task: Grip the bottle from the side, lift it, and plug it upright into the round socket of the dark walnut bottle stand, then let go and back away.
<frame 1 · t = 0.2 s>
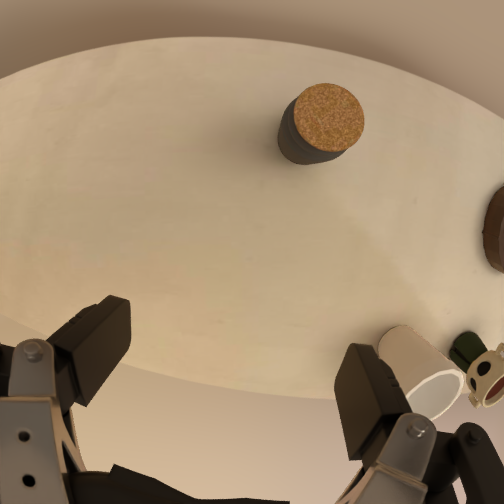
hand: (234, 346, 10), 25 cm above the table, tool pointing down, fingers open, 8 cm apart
bottle: (302, 140, 31), on the table
foam cup: (396, 342, 37), on the table
character mug: (461, 344, 37), on the table
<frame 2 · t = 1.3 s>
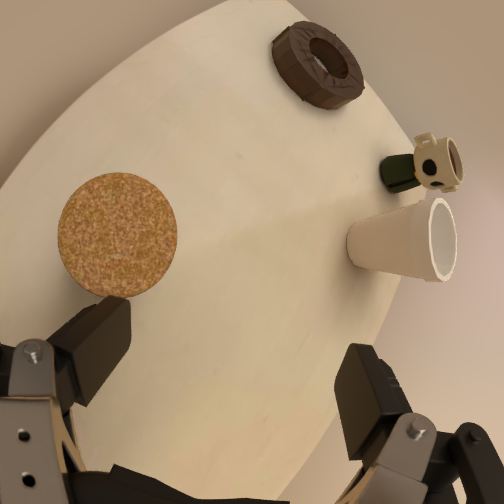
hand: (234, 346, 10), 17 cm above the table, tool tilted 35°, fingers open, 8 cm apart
bottle: (110, 250, 23), on the table, touching gripper
stand: (312, 69, 35), on the table
foam cup: (360, 244, 38), on the table
character mug: (388, 175, 43), on the table
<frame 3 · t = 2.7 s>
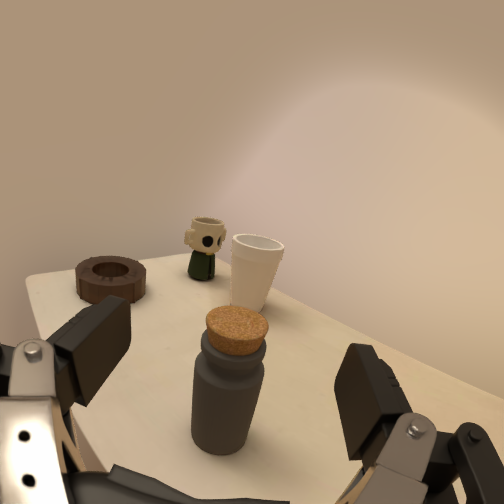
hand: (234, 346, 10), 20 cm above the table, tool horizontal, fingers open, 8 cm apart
bottle: (218, 435, 26), on the table
stand: (110, 288, 50), on the table
foam cup: (245, 306, 56), on the table
character mug: (200, 277, 65), on the table
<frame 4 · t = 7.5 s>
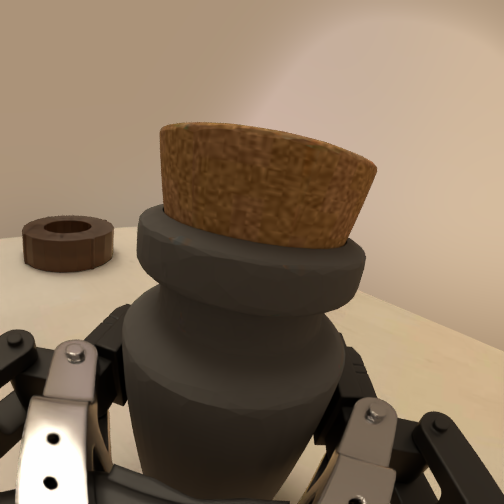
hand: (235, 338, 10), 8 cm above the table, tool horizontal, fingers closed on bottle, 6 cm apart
bottle: (207, 493, 10), on the table, touching gripper
stand: (67, 253, 35), on the table
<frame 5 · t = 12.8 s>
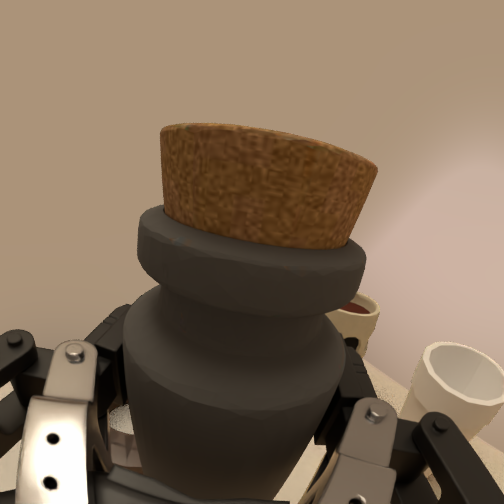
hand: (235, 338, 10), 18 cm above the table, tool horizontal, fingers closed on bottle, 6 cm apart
bottle: (207, 493, 10), point 9 cm above the table, touching gripper
stand: (139, 428, 22), on the table
foam cup: (402, 466, 20), on the table
character mug: (317, 393, 32), on the table
when the fingers open (8 cm above the table, at t = 18.3 s): bottle stays where it is, resting in stand.
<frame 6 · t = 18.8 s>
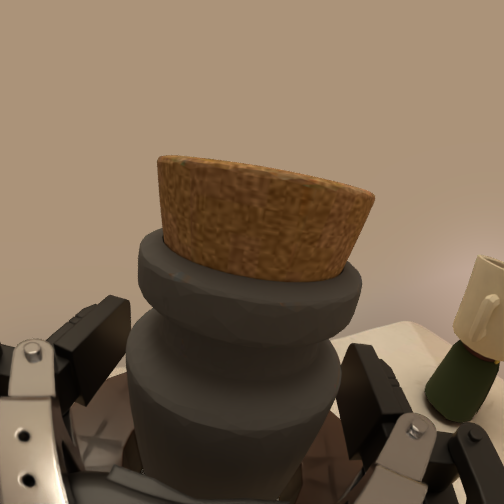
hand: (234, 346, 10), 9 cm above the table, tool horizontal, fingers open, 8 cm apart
bottle: (209, 498, 10), resting in stand
stand: (207, 495, 10), on the table
character mug: (447, 405, 18), on the table
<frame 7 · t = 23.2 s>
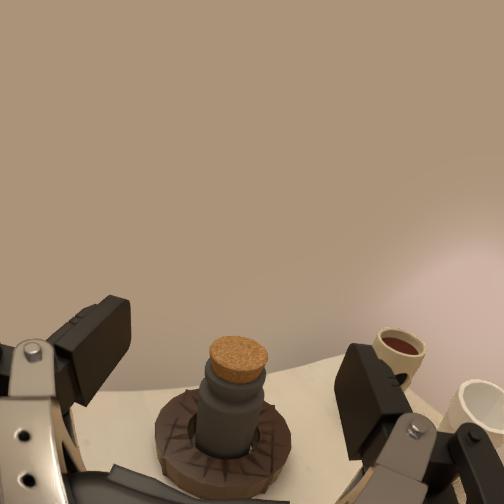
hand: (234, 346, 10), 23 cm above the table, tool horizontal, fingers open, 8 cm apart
bottle: (221, 451, 26), resting in stand
stand: (220, 450, 26), on the table
foam cup: (430, 476, 21), on the table
character mug: (365, 414, 34), on the table
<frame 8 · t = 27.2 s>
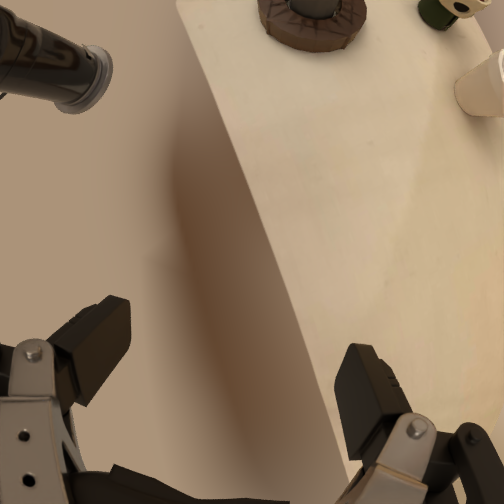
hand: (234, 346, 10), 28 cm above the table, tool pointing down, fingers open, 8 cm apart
bottle: (310, 14, 28), resting in stand
stand: (310, 12, 28), on the table
foam cup: (468, 97, 29), on the table
character mug: (432, 16, 25), on the table
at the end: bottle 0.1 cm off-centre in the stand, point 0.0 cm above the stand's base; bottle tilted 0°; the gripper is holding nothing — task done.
